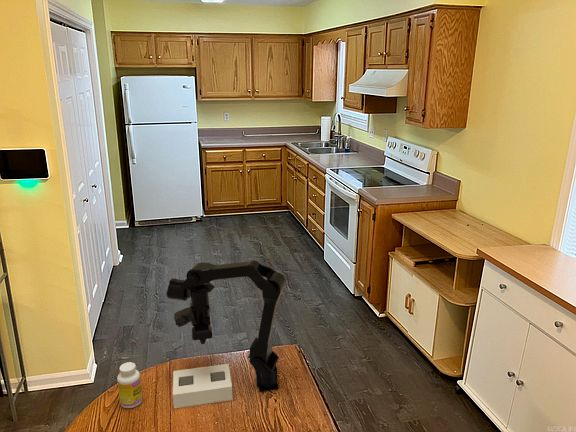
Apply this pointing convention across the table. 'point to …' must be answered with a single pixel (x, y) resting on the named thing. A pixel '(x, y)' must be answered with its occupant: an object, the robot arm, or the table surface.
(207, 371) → the bore block
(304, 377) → the table surface
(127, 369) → the supplement bottle
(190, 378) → the peg
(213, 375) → the peg
